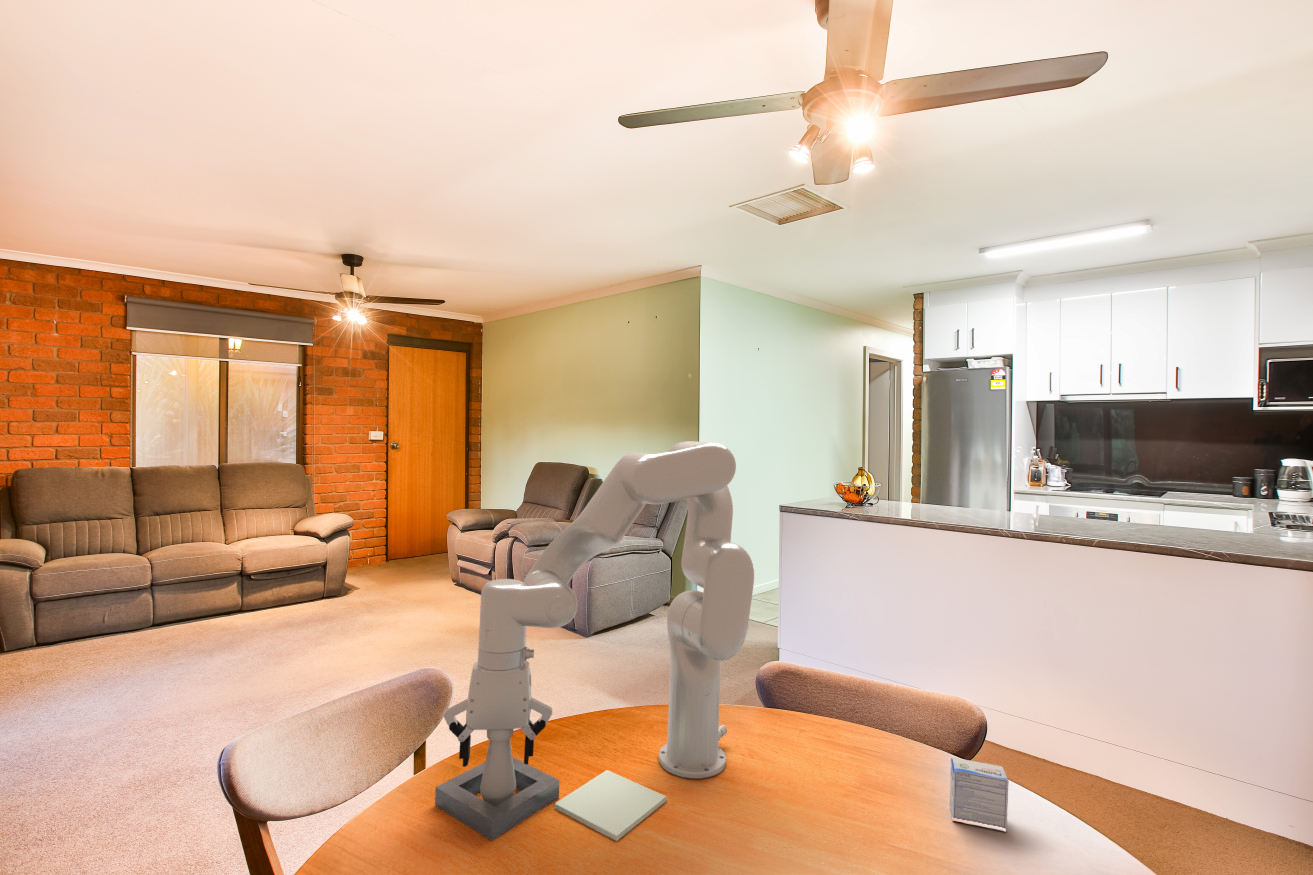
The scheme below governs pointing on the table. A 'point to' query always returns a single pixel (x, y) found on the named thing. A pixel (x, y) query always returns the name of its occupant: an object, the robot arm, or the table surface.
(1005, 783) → the medicine box
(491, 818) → the grey square frame
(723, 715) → the table surface
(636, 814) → the mat
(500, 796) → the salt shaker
